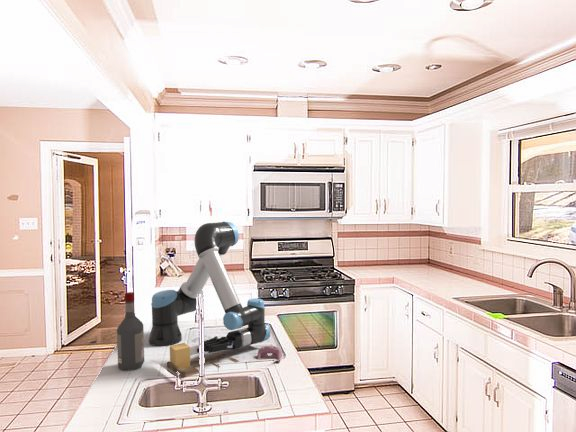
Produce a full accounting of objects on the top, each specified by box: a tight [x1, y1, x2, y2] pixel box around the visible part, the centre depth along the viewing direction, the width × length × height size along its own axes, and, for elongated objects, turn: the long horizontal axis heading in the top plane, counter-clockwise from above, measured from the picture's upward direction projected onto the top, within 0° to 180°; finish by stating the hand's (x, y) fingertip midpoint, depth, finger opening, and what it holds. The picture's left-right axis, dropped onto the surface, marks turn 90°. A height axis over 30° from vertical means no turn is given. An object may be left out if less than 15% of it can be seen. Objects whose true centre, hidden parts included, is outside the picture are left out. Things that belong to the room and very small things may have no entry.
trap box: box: [166, 351, 240, 379], centre depth 177 cm, size 14×25×4 cm, turn 130°
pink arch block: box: [256, 345, 282, 364], centre depth 184 cm, size 10×5×7 cm, turn 85°
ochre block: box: [169, 342, 191, 369], centre depth 175 cm, size 6×6×8 cm
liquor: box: [116, 291, 145, 372], centre depth 179 cm, size 9×9×30 cm
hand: (188, 351), depth 176 cm, fingers closed
